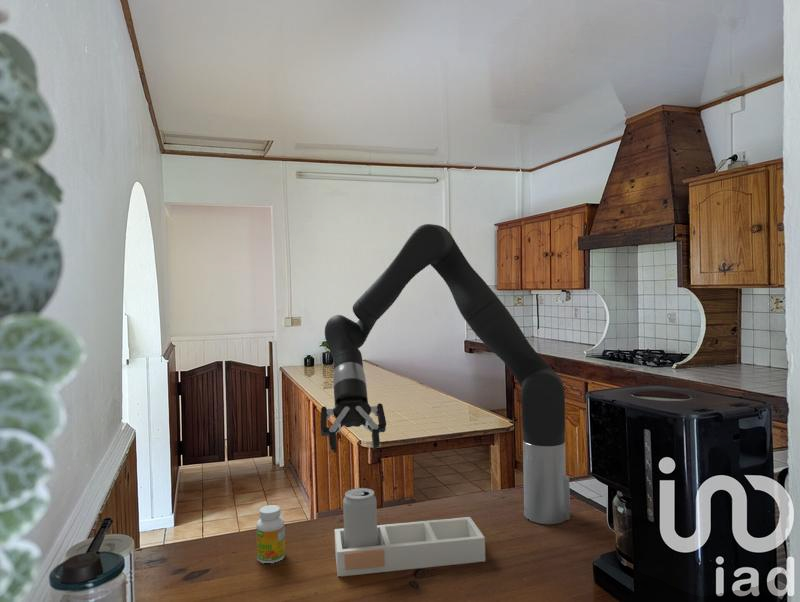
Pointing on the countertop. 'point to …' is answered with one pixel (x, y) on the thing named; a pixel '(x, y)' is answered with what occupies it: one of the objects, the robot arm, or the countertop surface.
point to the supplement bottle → (270, 535)
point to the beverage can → (360, 518)
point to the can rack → (413, 547)
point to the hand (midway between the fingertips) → (355, 449)
